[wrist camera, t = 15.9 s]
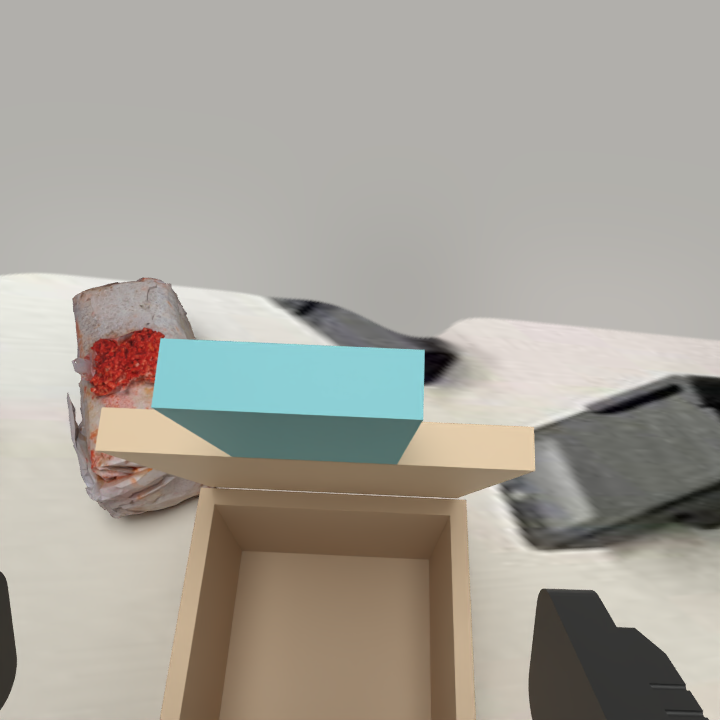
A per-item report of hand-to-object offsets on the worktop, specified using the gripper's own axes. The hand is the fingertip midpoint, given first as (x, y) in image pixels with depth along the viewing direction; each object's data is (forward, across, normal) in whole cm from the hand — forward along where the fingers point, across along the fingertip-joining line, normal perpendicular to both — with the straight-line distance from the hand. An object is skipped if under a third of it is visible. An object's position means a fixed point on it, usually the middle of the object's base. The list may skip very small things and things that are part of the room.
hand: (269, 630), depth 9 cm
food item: (+33, +12, +9) cm, 36 cm away
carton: (+22, 0, +20) cm, 30 cm away
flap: (+11, 0, +2) cm, 11 cm away
